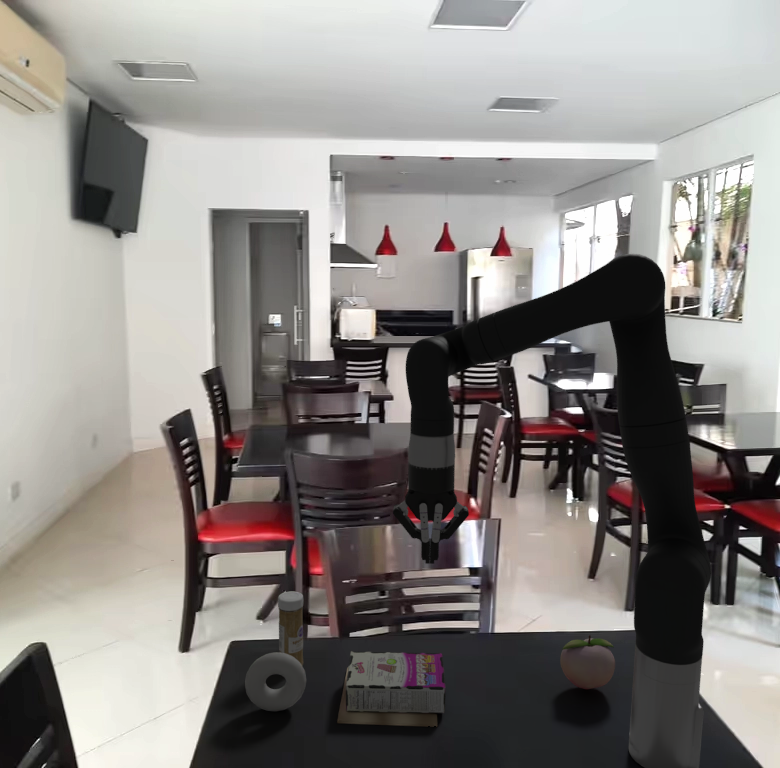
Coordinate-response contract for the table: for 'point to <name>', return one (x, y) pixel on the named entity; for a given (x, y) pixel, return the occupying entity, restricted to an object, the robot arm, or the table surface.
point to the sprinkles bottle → (291, 624)
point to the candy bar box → (395, 682)
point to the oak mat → (384, 716)
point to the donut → (275, 697)
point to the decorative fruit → (588, 662)
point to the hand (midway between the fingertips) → (429, 561)
